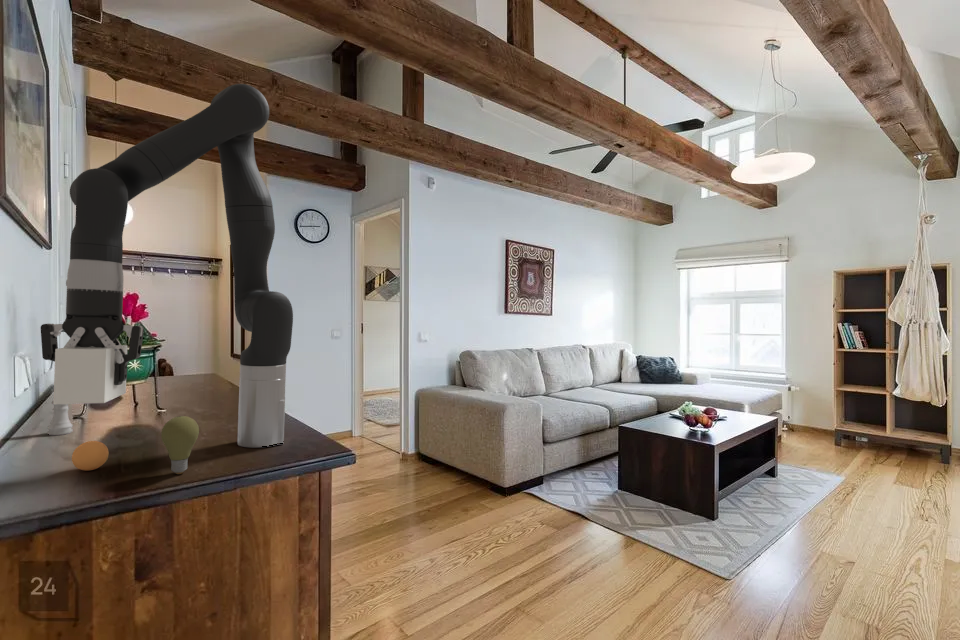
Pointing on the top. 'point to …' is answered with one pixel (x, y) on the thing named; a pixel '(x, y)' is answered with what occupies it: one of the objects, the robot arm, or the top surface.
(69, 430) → the rook chess piece
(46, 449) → the top surface
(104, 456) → the orange egg
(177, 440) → the light bulb
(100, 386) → the light gray block
